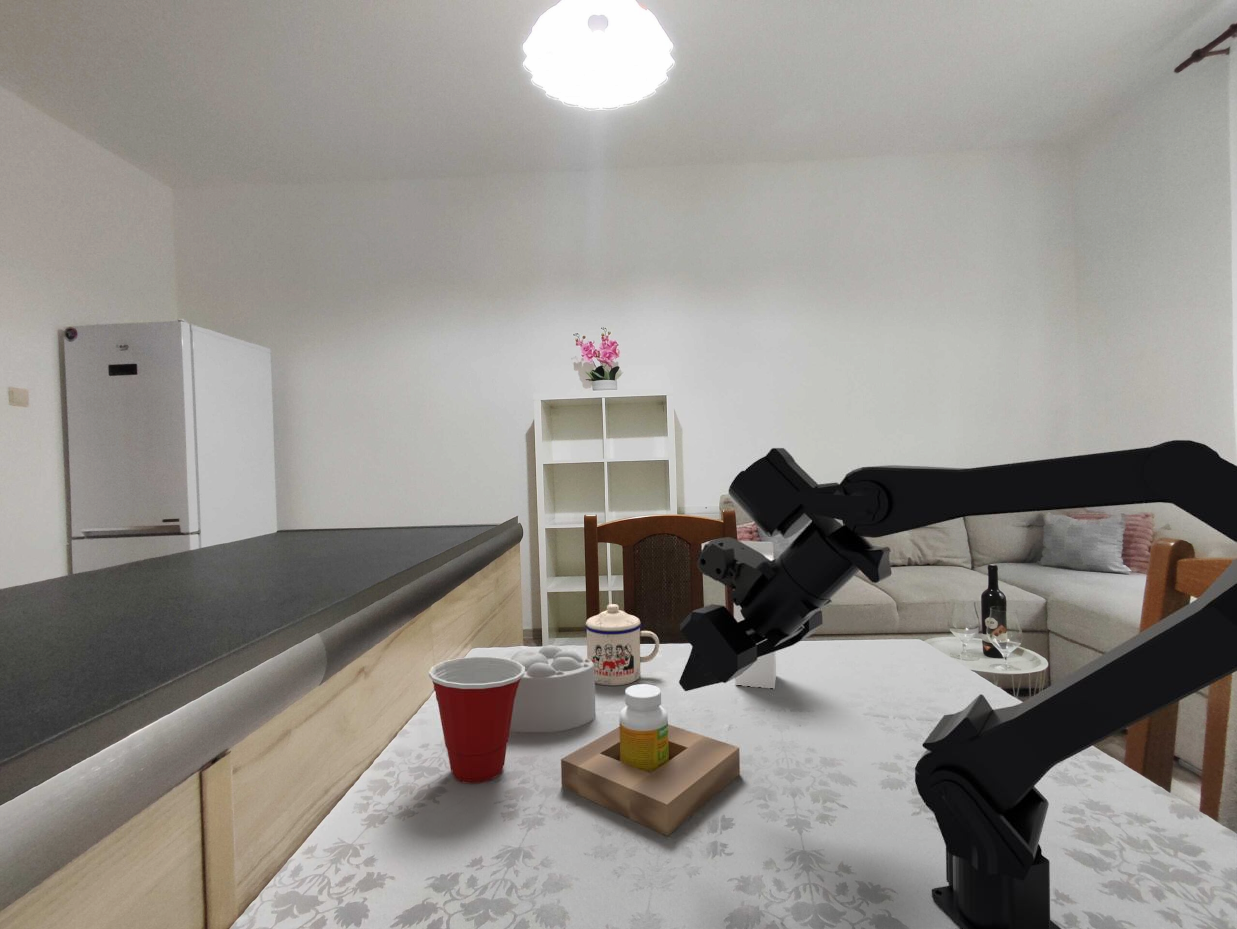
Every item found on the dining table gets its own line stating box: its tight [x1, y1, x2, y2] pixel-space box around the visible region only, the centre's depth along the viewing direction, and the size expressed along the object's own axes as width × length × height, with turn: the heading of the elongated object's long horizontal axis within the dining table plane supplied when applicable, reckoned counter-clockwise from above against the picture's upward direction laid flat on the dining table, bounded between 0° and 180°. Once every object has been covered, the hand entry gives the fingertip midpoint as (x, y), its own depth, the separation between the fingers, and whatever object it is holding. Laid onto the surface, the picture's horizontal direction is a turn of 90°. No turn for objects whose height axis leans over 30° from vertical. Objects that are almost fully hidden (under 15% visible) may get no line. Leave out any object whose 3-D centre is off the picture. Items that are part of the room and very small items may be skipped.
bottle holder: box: [560, 723, 741, 837], centre depth 66 cm, size 14×14×3 cm
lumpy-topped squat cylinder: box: [506, 644, 597, 733], centre depth 84 cm, size 10×13×9 cm
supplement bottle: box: [619, 683, 669, 774], centre depth 67 cm, size 5×5×10 cm
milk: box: [732, 540, 777, 690], centre depth 95 cm, size 6×6×22 cm
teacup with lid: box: [584, 603, 660, 687], centre depth 98 cm, size 12×9×12 cm
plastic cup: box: [428, 656, 525, 784], centre depth 69 cm, size 11×11×12 cm
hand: (708, 673), depth 62 cm, fingers open, 9 cm apart
